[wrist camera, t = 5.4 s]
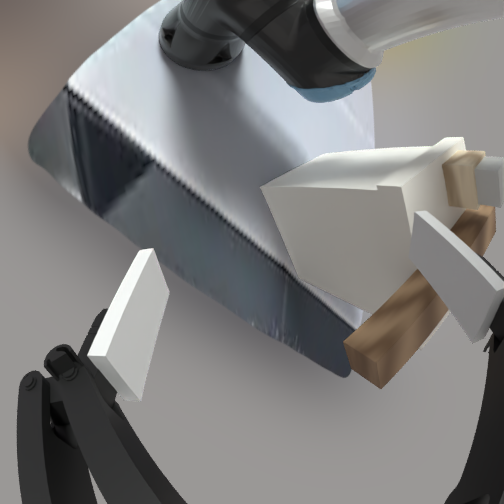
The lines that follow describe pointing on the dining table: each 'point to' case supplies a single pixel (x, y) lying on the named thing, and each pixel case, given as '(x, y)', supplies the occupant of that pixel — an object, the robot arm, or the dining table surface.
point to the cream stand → (361, 217)
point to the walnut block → (411, 311)
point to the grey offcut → (490, 181)
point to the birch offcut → (462, 178)
